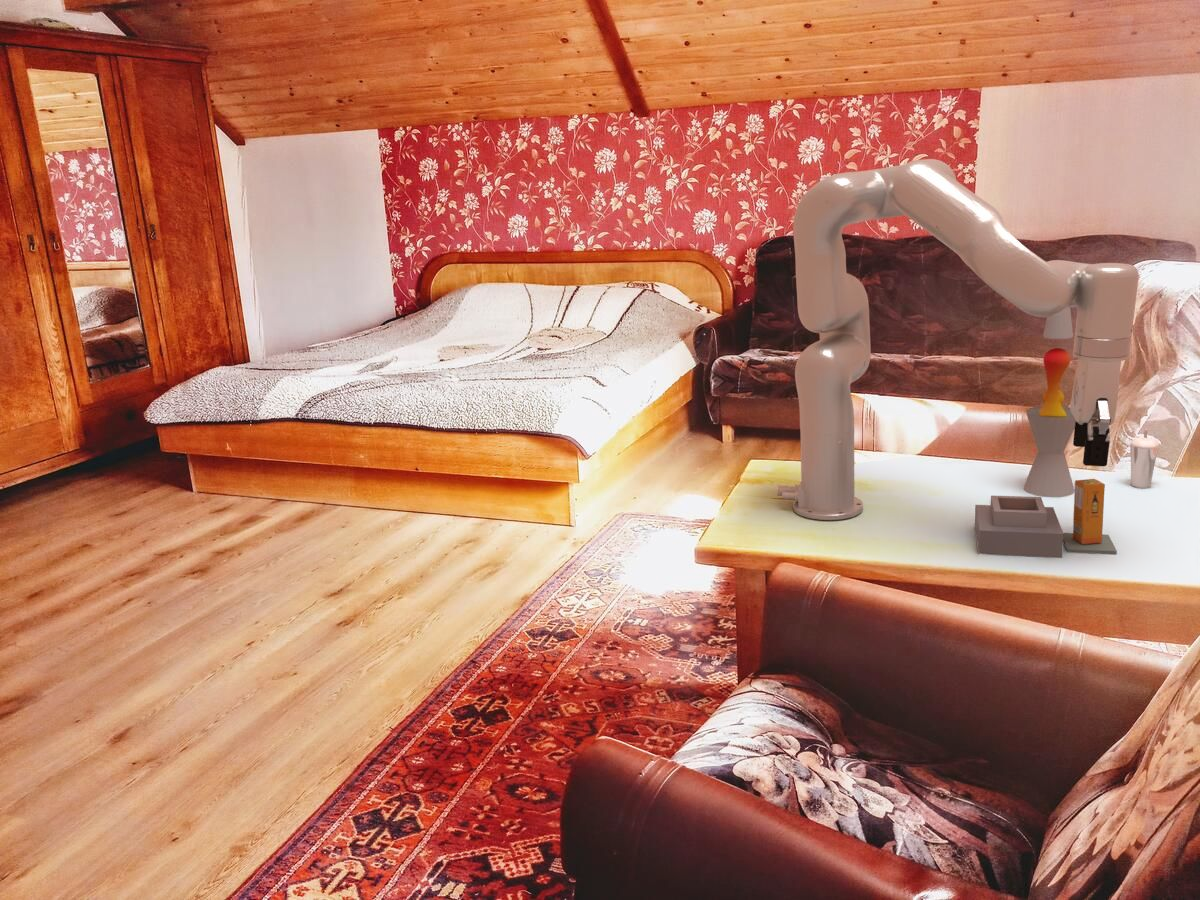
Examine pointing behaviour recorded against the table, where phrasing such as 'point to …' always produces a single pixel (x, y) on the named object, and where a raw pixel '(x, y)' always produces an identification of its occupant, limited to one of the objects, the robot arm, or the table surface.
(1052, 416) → the lava lamp
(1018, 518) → the frame
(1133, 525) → the table surface
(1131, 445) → the milkshake
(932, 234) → the robot arm
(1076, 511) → the supplement box
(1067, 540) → the rest mat
